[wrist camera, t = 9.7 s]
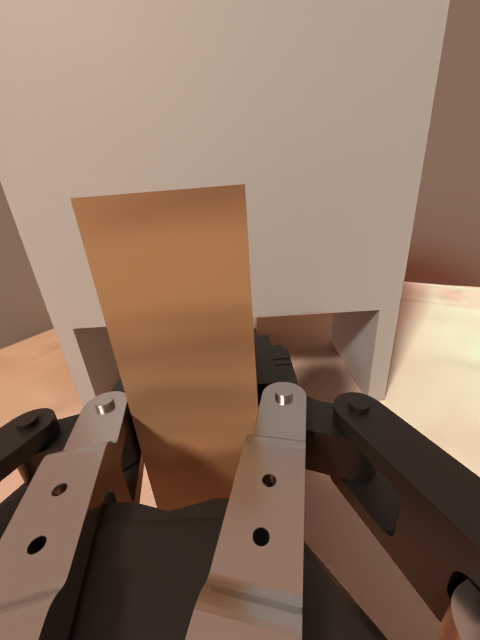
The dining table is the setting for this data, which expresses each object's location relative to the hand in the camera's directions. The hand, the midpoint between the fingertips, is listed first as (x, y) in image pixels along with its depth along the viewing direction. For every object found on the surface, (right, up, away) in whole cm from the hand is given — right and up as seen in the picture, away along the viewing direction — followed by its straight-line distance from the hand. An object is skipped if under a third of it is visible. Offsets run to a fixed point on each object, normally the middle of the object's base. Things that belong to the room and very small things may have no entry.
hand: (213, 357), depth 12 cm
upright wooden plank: (+1, -5, +7) cm, 9 cm away
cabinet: (+1, -3, +12) cm, 13 cm away
